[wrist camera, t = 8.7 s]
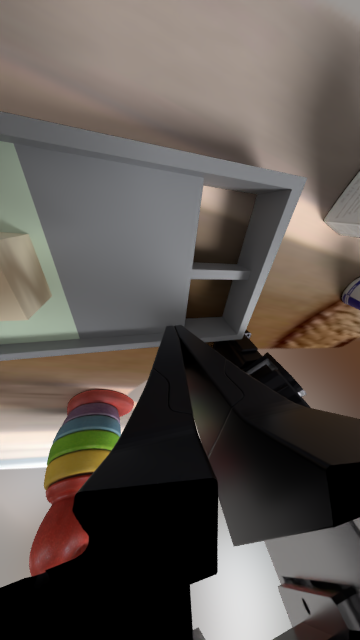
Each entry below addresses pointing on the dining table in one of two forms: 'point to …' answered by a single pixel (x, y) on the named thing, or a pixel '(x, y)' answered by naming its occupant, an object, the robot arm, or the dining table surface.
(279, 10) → the dining table surface
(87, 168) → the gray tray box
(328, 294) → the dining table surface
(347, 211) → the skincare box
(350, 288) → the energy drink
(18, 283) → the birch block
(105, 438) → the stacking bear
